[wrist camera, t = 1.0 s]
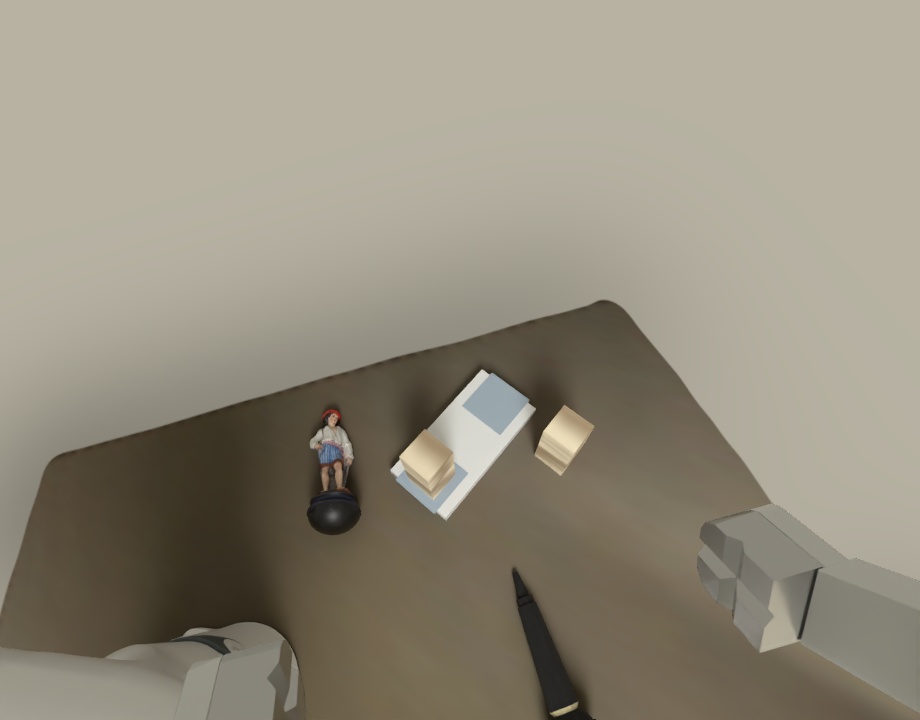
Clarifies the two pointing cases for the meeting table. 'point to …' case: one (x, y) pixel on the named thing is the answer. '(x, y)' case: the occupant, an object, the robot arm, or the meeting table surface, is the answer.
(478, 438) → the white base board
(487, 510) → the meeting table surface
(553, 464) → the loose pillar
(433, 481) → the standing pillar
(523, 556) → the meeting table surface
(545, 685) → the microphone
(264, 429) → the meeting table surface
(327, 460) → the figurine
